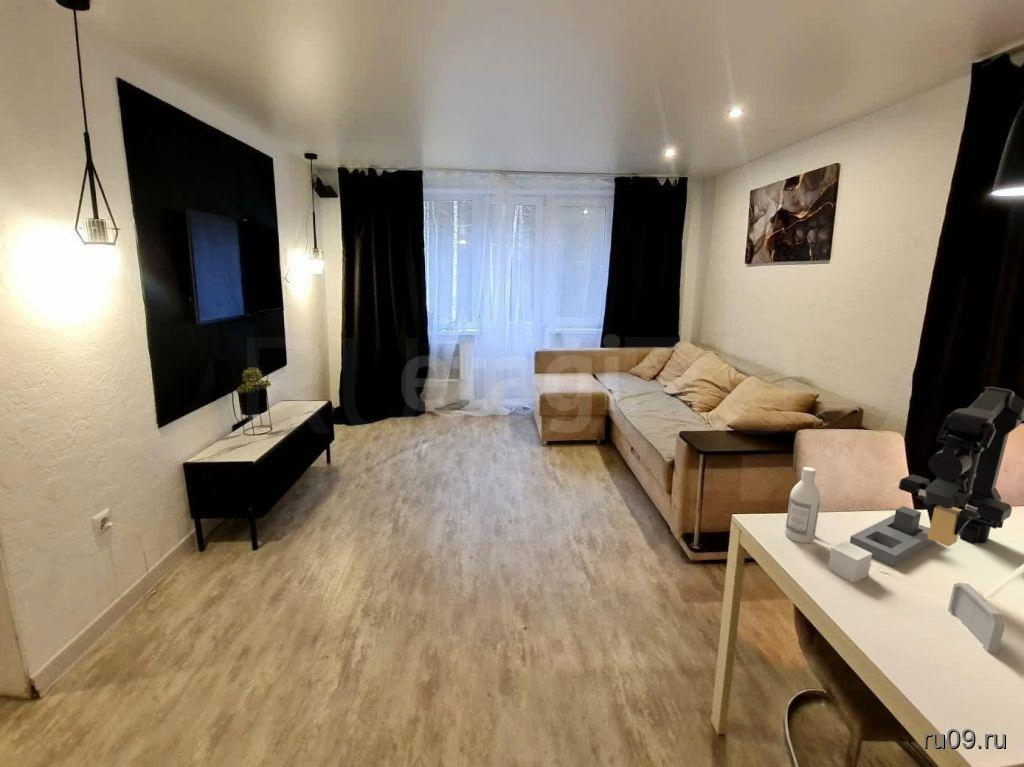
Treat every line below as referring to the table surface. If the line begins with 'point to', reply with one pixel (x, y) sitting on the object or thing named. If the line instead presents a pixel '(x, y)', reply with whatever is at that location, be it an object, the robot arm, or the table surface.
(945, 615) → the table surface
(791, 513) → the bath foam
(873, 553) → the grey piece
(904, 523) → the dark gray plug
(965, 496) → the robot arm
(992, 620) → the light switch
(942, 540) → the amber plug
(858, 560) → the white cube
